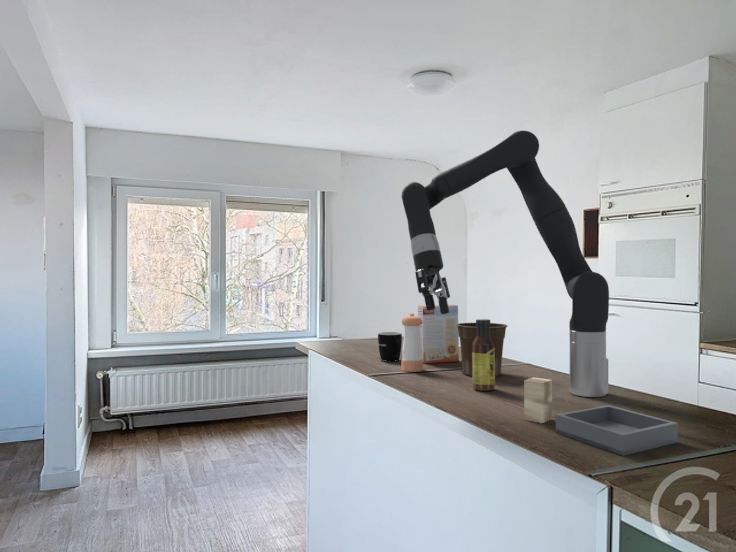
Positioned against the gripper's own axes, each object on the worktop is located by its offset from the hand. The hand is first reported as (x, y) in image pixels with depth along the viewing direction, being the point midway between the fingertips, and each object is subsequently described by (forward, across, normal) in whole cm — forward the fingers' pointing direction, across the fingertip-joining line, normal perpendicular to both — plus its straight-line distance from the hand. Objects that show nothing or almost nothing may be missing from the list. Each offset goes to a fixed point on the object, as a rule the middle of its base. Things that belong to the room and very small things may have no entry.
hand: (438, 311), depth 141 cm
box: (+36, -5, -34) cm, 50 cm away
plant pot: (+14, +43, +8) cm, 46 cm away
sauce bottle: (+20, +22, +1) cm, 30 cm away
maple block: (+30, 0, -19) cm, 36 cm away
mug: (+2, +49, +44) cm, 66 cm away
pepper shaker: (+8, +37, +30) cm, 49 cm away
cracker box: (+5, +56, +28) cm, 63 cm away
